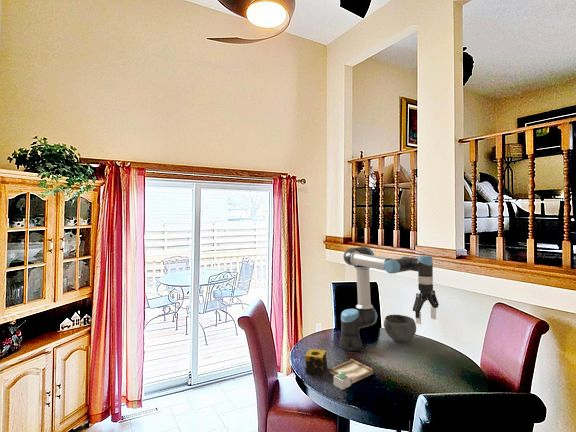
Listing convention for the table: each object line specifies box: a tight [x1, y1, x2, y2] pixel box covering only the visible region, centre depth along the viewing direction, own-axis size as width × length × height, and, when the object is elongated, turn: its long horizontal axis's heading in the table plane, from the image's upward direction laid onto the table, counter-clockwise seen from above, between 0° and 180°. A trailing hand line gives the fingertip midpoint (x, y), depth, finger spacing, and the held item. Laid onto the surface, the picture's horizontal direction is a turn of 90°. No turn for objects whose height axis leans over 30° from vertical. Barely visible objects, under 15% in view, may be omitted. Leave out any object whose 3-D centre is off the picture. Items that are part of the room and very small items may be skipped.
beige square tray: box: [328, 358, 374, 385], centre depth 176 cm, size 16×18×2 cm
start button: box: [338, 371, 345, 380], centre depth 164 cm, size 4×4×4 cm
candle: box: [304, 348, 328, 376], centre depth 180 cm, size 10×10×10 cm
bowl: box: [383, 314, 417, 343], centre depth 220 cm, size 21×21×15 cm
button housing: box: [333, 374, 351, 391], centre depth 164 cm, size 6×6×4 cm
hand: (426, 321), depth 179 cm, fingers open, 13 cm apart
